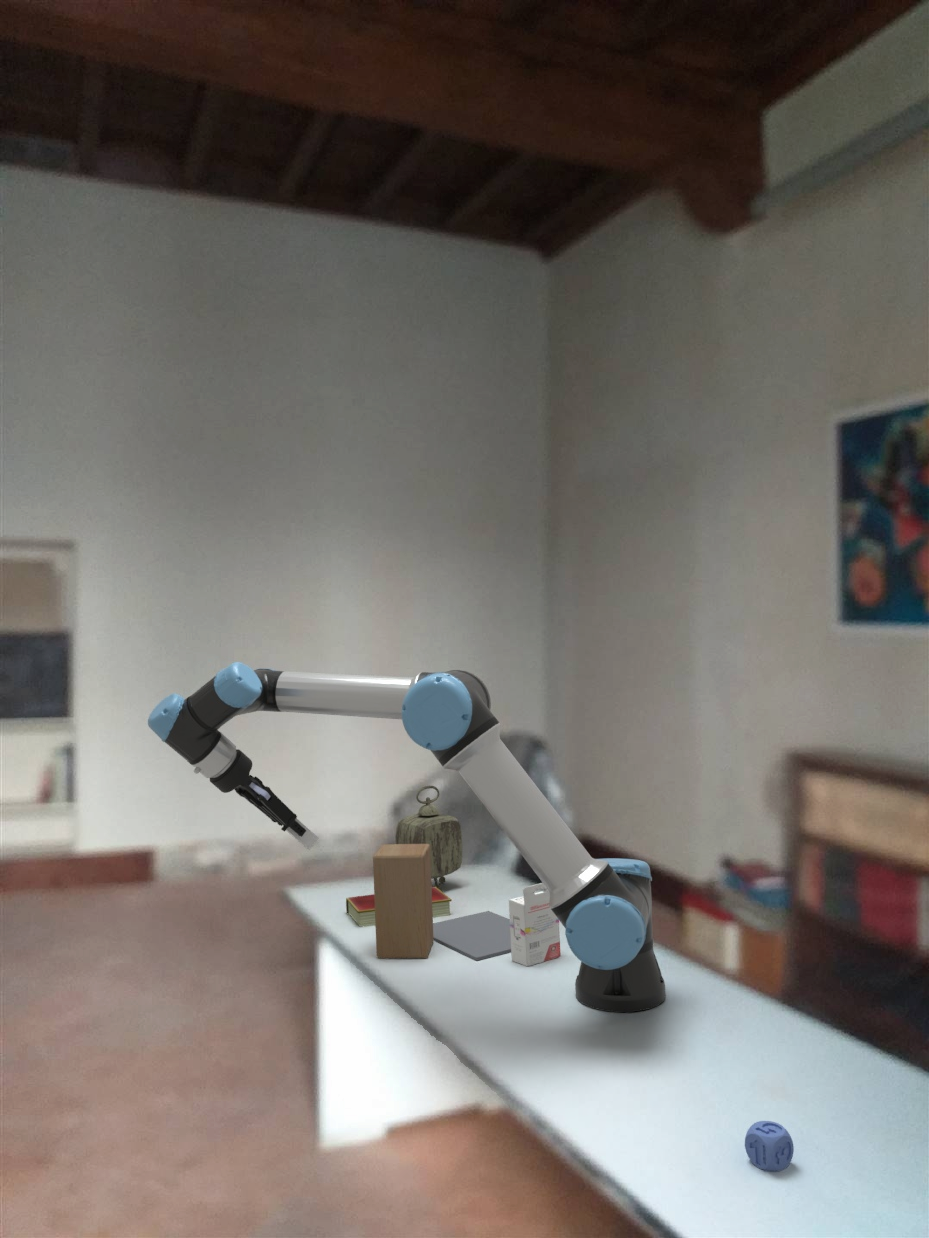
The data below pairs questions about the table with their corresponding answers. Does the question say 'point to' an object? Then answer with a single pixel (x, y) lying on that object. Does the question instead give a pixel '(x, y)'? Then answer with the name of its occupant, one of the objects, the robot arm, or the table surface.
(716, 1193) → the table surface
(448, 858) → the tabletop clock
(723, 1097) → the table surface
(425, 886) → the wooden block
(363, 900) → the hardcover book
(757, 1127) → the decorative dice
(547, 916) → the ink cartridge box
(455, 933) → the mat
